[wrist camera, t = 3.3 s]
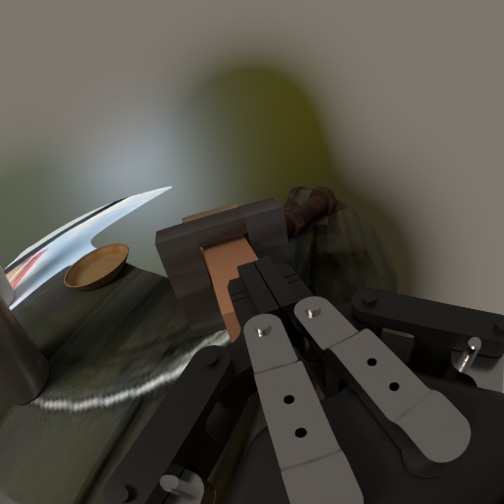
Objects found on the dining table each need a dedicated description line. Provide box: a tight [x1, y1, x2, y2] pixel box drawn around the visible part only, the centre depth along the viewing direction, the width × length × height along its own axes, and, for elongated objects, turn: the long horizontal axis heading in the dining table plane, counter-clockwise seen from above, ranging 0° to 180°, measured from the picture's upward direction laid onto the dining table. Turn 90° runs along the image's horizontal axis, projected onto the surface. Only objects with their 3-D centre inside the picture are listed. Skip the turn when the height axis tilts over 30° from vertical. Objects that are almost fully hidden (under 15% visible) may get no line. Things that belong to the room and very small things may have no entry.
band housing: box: [155, 198, 292, 338], centre depth 34 cm, size 16×12×12 cm
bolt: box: [284, 186, 337, 236], centre depth 47 cm, size 6×5×15 cm
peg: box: [203, 235, 258, 343], centre depth 24 cm, size 13×4×4 cm, turn 16°
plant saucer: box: [64, 243, 129, 291], centre depth 47 cm, size 15×15×3 cm
